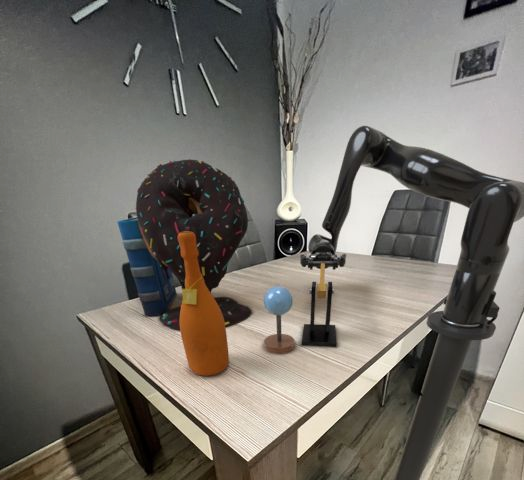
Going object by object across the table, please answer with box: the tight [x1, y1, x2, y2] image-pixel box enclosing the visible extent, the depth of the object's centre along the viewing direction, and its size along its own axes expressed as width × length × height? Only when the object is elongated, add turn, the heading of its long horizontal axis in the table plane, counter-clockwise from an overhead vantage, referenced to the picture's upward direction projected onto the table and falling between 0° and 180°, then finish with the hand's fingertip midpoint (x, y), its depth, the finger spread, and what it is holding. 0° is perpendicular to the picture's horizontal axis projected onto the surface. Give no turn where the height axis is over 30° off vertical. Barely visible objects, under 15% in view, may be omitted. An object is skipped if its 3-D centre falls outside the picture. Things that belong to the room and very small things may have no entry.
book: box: [116, 216, 177, 317], centre depth 98 cm, size 24×9×30 cm, turn 5°
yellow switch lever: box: [313, 261, 333, 299], centre depth 73 cm, size 14×6×2 cm, turn 169°
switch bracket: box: [300, 281, 338, 348], centre depth 72 cm, size 11×9×15 cm
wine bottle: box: [178, 231, 230, 377], centre depth 58 cm, size 10×10×30 cm
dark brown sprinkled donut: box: [135, 158, 253, 331], centre depth 84 cm, size 30×32×45 cm
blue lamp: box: [263, 285, 296, 355], centre depth 68 cm, size 8×8×16 cm
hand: (322, 265), depth 74 cm, fingers closed on yellow switch lever, 5 cm apart
